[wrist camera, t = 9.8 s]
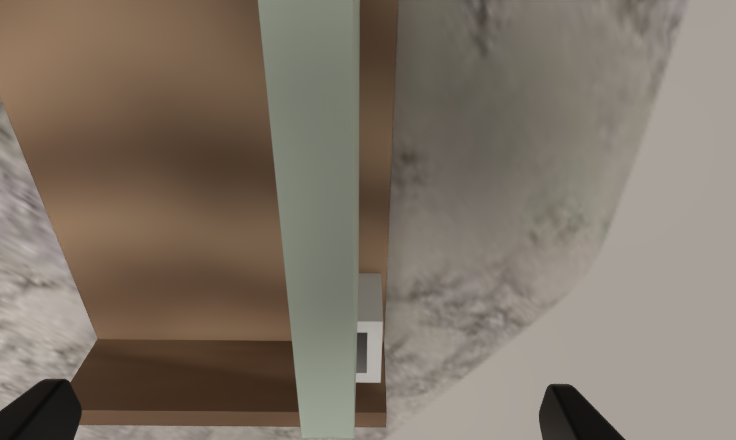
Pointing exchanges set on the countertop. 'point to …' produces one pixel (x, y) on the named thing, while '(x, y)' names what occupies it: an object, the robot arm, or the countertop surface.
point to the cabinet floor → (180, 198)
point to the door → (321, 206)
